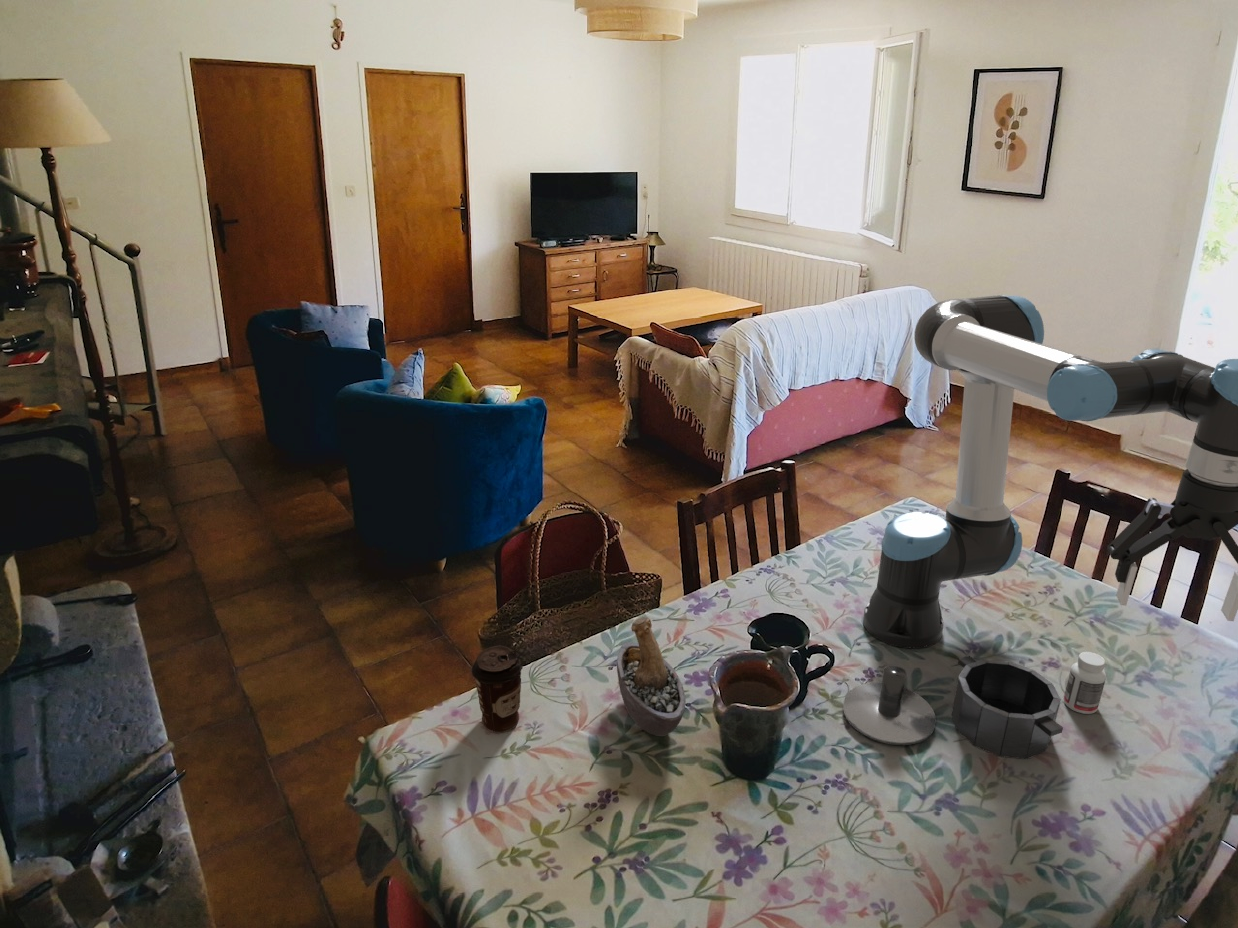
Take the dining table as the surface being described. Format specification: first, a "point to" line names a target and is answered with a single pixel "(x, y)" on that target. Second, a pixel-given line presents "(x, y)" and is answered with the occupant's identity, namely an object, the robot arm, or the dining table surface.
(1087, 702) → the pill bottle
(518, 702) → the dark brown can
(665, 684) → the planter
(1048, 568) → the dining table surface
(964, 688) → the pot
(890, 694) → the lid
